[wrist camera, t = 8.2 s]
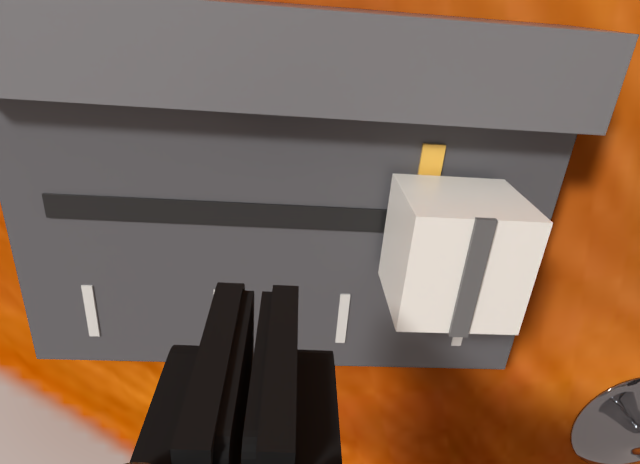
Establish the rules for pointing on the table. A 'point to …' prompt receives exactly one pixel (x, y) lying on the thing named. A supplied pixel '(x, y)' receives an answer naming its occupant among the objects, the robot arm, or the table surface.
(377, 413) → the table surface
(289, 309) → the robot arm
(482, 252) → the fader knob
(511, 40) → the console
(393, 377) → the table surface
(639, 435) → the wine glass
